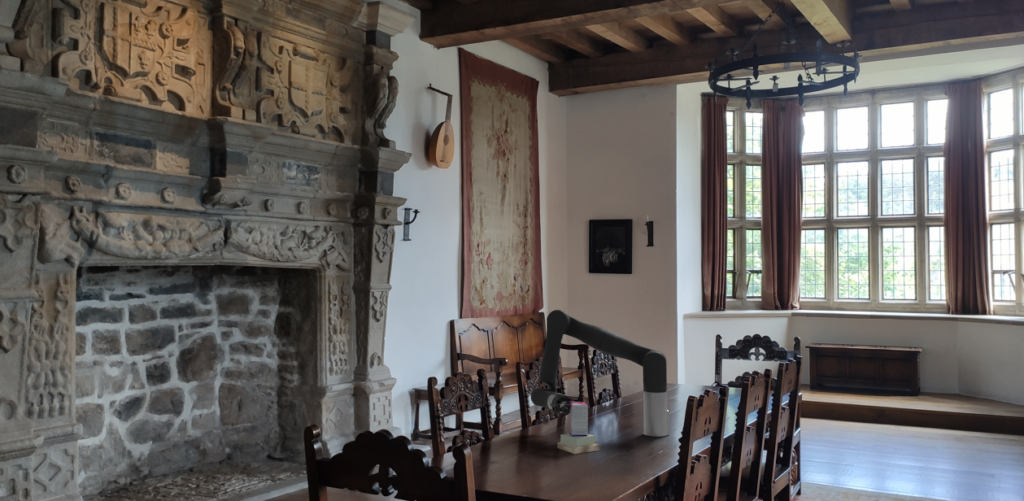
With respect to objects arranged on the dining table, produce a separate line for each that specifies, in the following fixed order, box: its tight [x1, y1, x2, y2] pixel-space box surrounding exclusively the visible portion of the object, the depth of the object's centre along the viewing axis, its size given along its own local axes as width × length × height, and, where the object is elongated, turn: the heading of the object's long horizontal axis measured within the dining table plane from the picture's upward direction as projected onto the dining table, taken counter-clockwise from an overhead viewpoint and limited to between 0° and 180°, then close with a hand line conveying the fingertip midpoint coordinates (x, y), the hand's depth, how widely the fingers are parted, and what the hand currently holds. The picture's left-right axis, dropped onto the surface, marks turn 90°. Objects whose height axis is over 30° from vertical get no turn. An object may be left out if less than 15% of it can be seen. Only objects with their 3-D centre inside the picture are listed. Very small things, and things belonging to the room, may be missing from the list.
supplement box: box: [569, 402, 589, 437], centre depth 282 cm, size 6×6×12 cm
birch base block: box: [556, 441, 601, 455], centre depth 281 cm, size 11×11×3 cm
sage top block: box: [560, 432, 597, 447], centre depth 281 cm, size 9×9×3 cm
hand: (577, 410), depth 282 cm, fingers open, 8 cm apart
